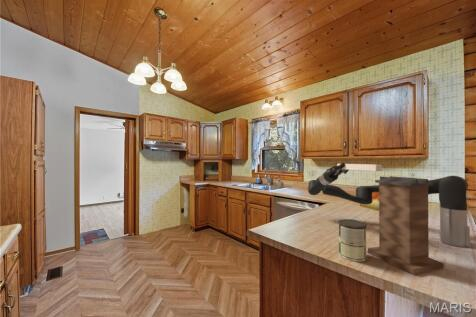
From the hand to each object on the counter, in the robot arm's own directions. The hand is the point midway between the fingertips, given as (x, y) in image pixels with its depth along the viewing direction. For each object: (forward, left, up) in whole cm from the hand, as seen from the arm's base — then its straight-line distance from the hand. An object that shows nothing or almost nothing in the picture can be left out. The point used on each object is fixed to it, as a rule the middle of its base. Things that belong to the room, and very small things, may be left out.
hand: (347, 164), depth 113 cm
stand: (-20, +23, -39) cm, 49 cm away
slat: (-5, +5, -3) cm, 7 cm away
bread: (-22, -82, -39) cm, 93 cm away
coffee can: (-2, +29, -39) cm, 49 cm away
